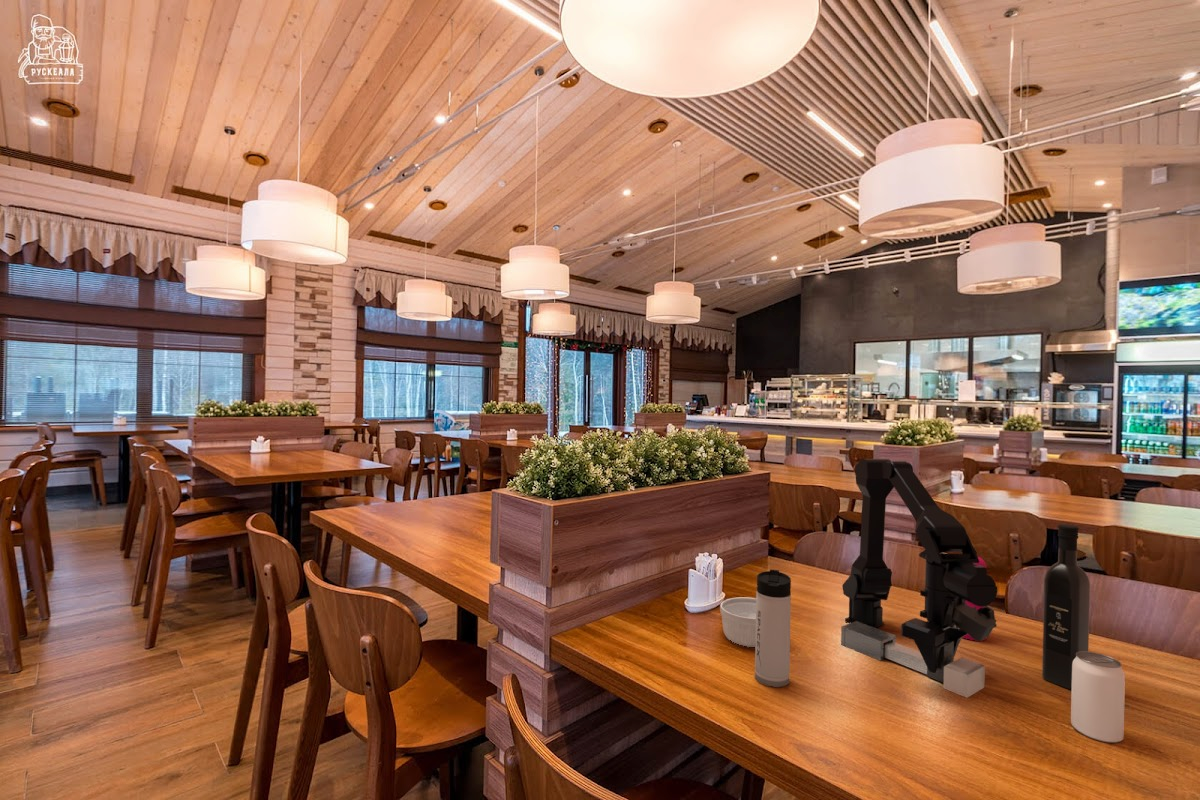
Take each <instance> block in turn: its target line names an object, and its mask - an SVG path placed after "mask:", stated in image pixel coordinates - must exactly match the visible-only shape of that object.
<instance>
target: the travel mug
mask: <svg viewBox="0 0 1200 800" xmlns="http://www.w3.org/2000/svg"><path fill="white" fill-rule="evenodd" d="M756 585H757V586H756V595H755V598H756V644H755V648H754V649H755V650H754V652H755V653H754V654H755V655H754V656H755V657H754V678H755V679H756V680H757V681H758V682H759V684H762V685H764V686H766V685H767V687H770V686H773V687H772V688H781V687H785V686H788V684H789V683H790V658H791V657H790V656H791V655H790V653H791V614H792V613H791V608H792V607H791V606H792V598H791V597H792V594H791V592H792V591H791V588H792V580H791V576H789V575H787V574H786V573H783V572H781V571H780V570H779V569H769V570H765V571H761V572H759V573H758V574H757V575H756Z"/></svg>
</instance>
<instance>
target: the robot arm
mask: <svg viewBox="0 0 1200 800" xmlns="http://www.w3.org/2000/svg"><path fill="white" fill-rule="evenodd" d="M854 475H855V485H856V486H857V488H858V489H859V491H860V493H861V494H862V501H861V503H862V504H861V506H862V507H861V520H860V521H861V525H860V526H861V527H860V542H859V543H860V544H859V545H860V546H859V555H858V556H857V558H856V559H855V560H854V562H853V563H852V565H851V570H850V575H849V576H848V578H847V579H846V580H845V581H844V582H843V584H842V591H843V592H842V593H843V595H844V596H845V597H847V598H848V599H849V600H848V617H845V618H844V621H845V622H847V623H848V624H849V623H852V622H855V621H857V622H860V623H863V624H866V625H868V626H871V627H874V628H878V627H881V626H884V625H885V621H883V611H884V610H883V606H882V601H888V597H889V594H890V590H891V588H892V586H893V584H892V575H893V571H892V569H891V568H888V565H887V564H886V562H885V560H884V545H885V544H884V541H885V526H886V523H885V522H886V508H887V507H886V505H887V504H886V503H887V497H888V496H889V495H890V493H891V492H893V490H894V489H895V491H896V492H897V493H898V495H899V496H900V499H902V501H903V503H904V504H905V506H906V507H907V509H908V511H909V512H910V513H911V515H912V517H913V519H914V521H915V529H914V530H915V533H916V536H917V538H918V540H919V542H920V544H921V545H922V547H923V548H924V550H922V551H920V553H919V554H918V556H919V557H920V558H921V559H924V560H925V568H924V569H925V571H924V572H925V576H924V577H925V579H924V588H922V589H920V592H919V593H920V594H919V595H920V596H922V597H924V609H922V610H920V611H919V617H921V618H924V619H926V620H923V619H920V618H917V617H914V618H911V619H908V620H907V621H904V622H903V623H901V624H900V625H901V627H900V635H901V636H902V637H904V638H907V639H910V640H912V641H913V642H914V644H915V646H916V647H917V649H918V651H919V652H920V653H921V655H922V657H923V659H924V661H925V663H926V666H927V668H928V670H929V671H930V672H933V673H935V672H936V669H937V664H938V659H939V653H940V648H941V647H942V646H944V645H946V644H947V643H948V642H947V641H944V638H946V639H949V640H952V641H954V657H955V655H956V654H957V653H956V652H957V650H958V648H959V645H960V643H961V640H962V639H963V638H962V637H964V636H965V635H967V634H969V635H970V636H971V637H972V638H973V639H975V640H977V641H976V642H982V640H983V639H985V638H986V639H988V638H989V637H990V635H991V633H992V631H993V630H994V628H996V627H997V620H996V616H995V609H992V607H989V605H991V604H992V603H993V602H994V601H995V599H996V598H997V594H998V586H997V585H996V581H995V579H993V577H992V576H990V575H988V574H987V570H988V567H987V568H986V567H984V566H981V565H976V564H973V563H979V559H978V557H979V556H978V555H977V554H978V553H977V550H976V549H975V547H974V546H973V543H972V541H971V539H970V537H969V534H968V532H967V530H966V528H965V526H963V524H962V523H961V522H960V521H959V520H958V519H957V518H956V517H955V516H954V515H952V514H950V513H949V512H947V511H944V510H943V509H941V508H940V506H939V505H937V503H936V501H935V500H934V499H933V497H932V496H931V494H930V493H929V492H928V490H927V489H926V487H925V486H924V484H923V483H922V482H921V480H920V479H919V477H918V476H917V475H916V474H915V472H914V469H913V465H912V464H911V463H910V462H908V461H907V460H890V459H889V458H861V459H859V461H858V462H856V464H855V466H854ZM977 556H978V557H977ZM966 601H968V602H970V603H972V604H974V605H976V606H980V607H982V608H980V609H978V610H976V607H970V606H968V605H967V604H966ZM983 606H984V607H983ZM986 639H985V640H986Z"/></svg>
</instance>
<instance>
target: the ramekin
mask: <svg viewBox="0 0 1200 800" xmlns="http://www.w3.org/2000/svg"><path fill="white" fill-rule="evenodd" d="M719 612H720V615H721V622H722V630H723V634H724V636H725V637H726V639H727V640H729V641H730V640H731V641H732V643H733V642H734V643H733V644H735V643H737V644H739V645H738V646H740V645H743V646H742V647H744V646H747V647H746V648H749V647H755V644H756V597H749V596H748V597H745V596H744V597H742V596H740V597H732V598H727V599H724V600H723V601H721V603H720V604H719ZM731 641H730V642H731ZM737 644H736V645H737Z"/></svg>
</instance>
